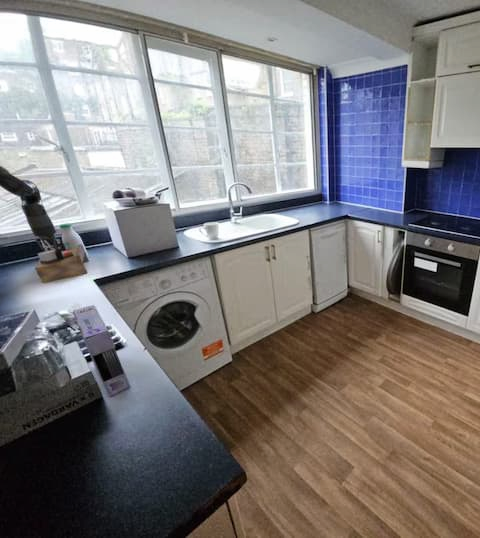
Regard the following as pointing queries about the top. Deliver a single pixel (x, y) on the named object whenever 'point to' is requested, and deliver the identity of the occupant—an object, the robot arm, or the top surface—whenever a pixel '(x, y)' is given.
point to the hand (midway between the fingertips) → (57, 258)
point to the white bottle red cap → (52, 256)
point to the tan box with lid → (64, 266)
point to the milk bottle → (70, 238)
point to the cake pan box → (101, 349)
